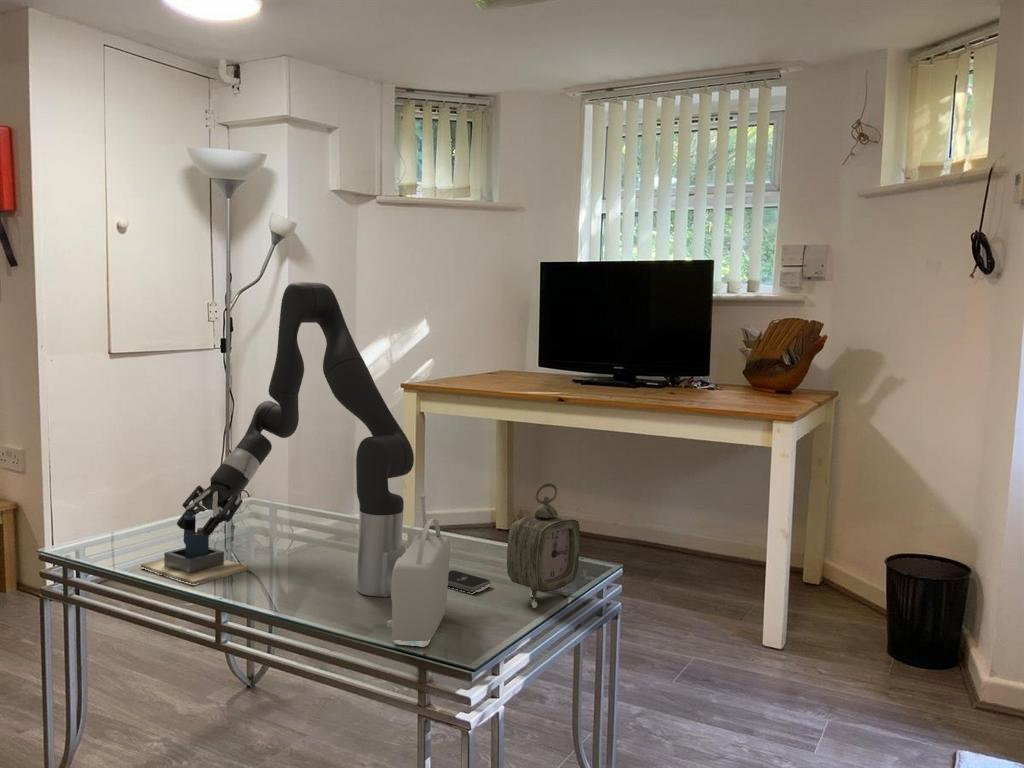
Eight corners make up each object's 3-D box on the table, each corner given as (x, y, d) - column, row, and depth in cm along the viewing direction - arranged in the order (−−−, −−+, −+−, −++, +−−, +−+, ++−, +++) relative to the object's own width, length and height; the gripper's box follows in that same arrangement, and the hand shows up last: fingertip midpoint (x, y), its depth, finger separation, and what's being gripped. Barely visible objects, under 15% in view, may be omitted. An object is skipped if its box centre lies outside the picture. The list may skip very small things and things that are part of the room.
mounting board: (246, 570, 178) (246, 566, 178) (192, 586, 167) (192, 581, 167) (195, 555, 188) (195, 550, 188) (140, 568, 176) (140, 564, 176)
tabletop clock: (534, 613, 160) (541, 491, 158) (501, 602, 166) (506, 483, 164) (577, 597, 171) (583, 482, 169) (544, 586, 177) (549, 476, 175)
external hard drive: (472, 597, 169) (472, 588, 169) (432, 585, 176) (432, 576, 176) (491, 589, 175) (491, 580, 175) (452, 578, 181) (452, 569, 181)
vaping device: (182, 564, 177) (183, 511, 177) (208, 562, 180) (208, 510, 179) (183, 567, 175) (183, 513, 174) (208, 565, 177) (209, 512, 177)
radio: (408, 607, 160) (413, 485, 159) (448, 610, 160) (454, 487, 158) (380, 650, 139) (385, 509, 137) (426, 654, 138) (432, 513, 136)
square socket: (223, 564, 179) (223, 551, 178) (189, 574, 171) (189, 560, 171) (198, 557, 183) (198, 544, 183) (164, 565, 176) (164, 552, 176)
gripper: (206, 458, 186) (161, 515, 177) (247, 466, 179) (202, 526, 170) (224, 478, 191) (182, 534, 182) (265, 486, 184) (222, 545, 175)
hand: (192, 530), depth 176 cm, fingers open, 8 cm apart
